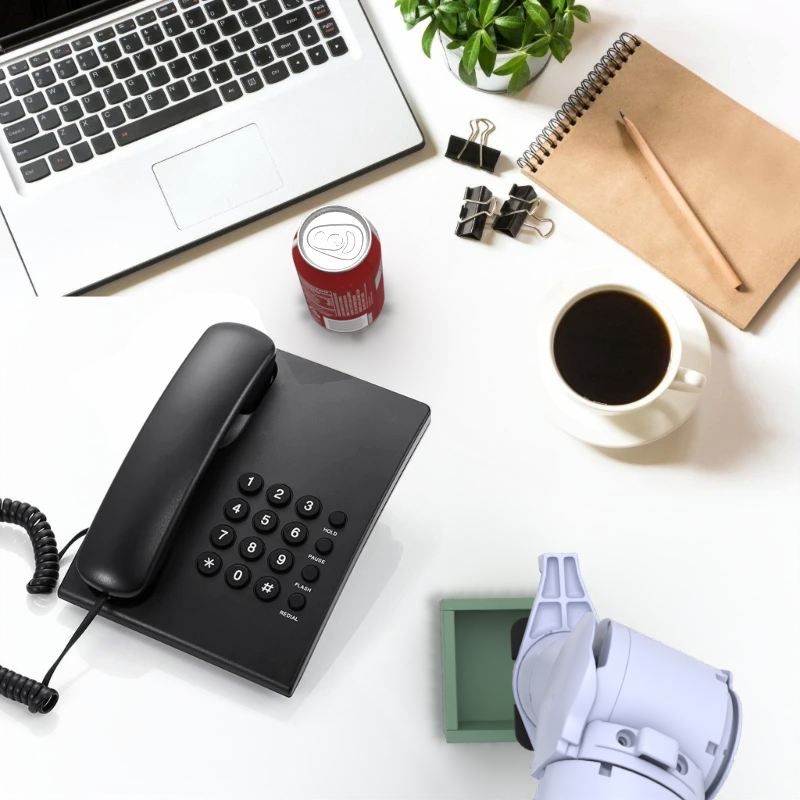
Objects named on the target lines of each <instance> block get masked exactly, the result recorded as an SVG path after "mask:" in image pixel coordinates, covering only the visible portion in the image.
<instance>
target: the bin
mask: <svg viewBox="0 0 800 800" xmlns="http://www.w3.org/2000/svg"><path fill="white" fill-rule="evenodd" d="M534 600H535V597H484V598H483V597H482V598H481V597H480V598H479V597H477V598H475V597H474V598H442V599H441V600H439V628H440V629H439V633H440V637H439V638H440V668H441V669H440V671H441V673H440V675H441V702H442V703H441V708H442V709H441V711H442V712H441V713H442V732H443V735H444V739H445V741H446V743H447V744H469V743H470V744H473V743H475V744H476V743H477V744H479V743H482V744H483V743H518V741H517V739H516V736H515V726H514V704H516V702H515V699H514V694H513V688H512V678H513V672H512V671H513V669H514V663H516V660H512V658H511V636H510V632H511V627H512V624H513V623H514V622H515V621H516V620H518V619H520V618H523V617H529V616H530V613H531V610H532V606H533V603H534Z"/></svg>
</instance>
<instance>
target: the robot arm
mask: <svg viewBox="0 0 800 800" xmlns="http://www.w3.org/2000/svg"><path fill="white" fill-rule="evenodd" d="M537 559H538V570H539V573H540V579H539V582H538V587H537V590H536V593H535V597H534V598H535V600H534V603H533V606H532V610H531V613H530V616H529V617H523V618H520V619H518V620H516V621H515V622H514V623H513V624H512V627H511V632H510V636H511V658H512V660H516V663H515V666H514V671H513V678H512V688H513V694H514V699H515V702H516V704H514V726H515V736H516V739H517V741H518V742H517V743H518V744H519V745H520V746H521V747H523V748H524V749H525V750H528V751H529V752H530V751H531V752H533V756H532V760H531V764H530V773H529V775H530V777H532V778H533V779H536V780H538V782H537V786H536V790H535V794H534V796H533V797H534V798H533V800H714V799H715V798H716V796H717V795H718V793H720V791H721V789H722V788H723V786H724V785H725V782H726V780H727V779H728V776H730V772H731V770H732V767H733V765H734V762H735V756H736V755H737V753H738V751H739V750H738V749H739V746H740V741H741V737H742V731H743V706H742V700H741V699H740V696H739V695H738V692H736V691H735V690H734V688H733V682H734V681H733V680H734V674H733V671H731V670H728V669H720V668H717V667H715V666H713V665H711V664H709V663H707V662H704V661H703V660H700V659H698V658H696V657H694V656H693V655H690V654H688V653H685V652H683V651H681V650H679V649H677V648H675V647H673V646H671V645H668V644H666V643H664V642H661V641H660V640H657V639H655V638H653V637H651V636H649V635H647V634H645V633H642V632H640V631H638V630H636V629H634V628H632V627H629V626H628V625H625V624H623V623H621V622H619V621H617V620H615V619H613V618H610V617H605V618H603V619H601V620H600V618H599V615H598V613H597V611H596V609H595V606H594V603H593V602H592V599H591V597H590V594H589V592H588V590H587V588H586V585H585V582H584V580H583V577H582V573H581V568H580V562H579V554H578V553H577V552H544V553H542V554H540V555H538V557H537Z"/></svg>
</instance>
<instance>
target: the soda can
mask: <svg viewBox="0 0 800 800" xmlns="http://www.w3.org/2000/svg"><path fill="white" fill-rule="evenodd" d="M291 257H292V261H293V264H294V267H295V271H296V274H297V278H298V280H299V283H300V286H301V289H302V293H303V296H304V300H305V302H306V304H307V309H308V311H309V313H310V315H311V317H312V318H313V320H314V321H315V322H316V323H317V324H318V325H319V326H320V327H321V328H323V329H325V330H327V331H329V332H332V333H335V334H340V335H341V334H342V335H347V334H348V335H349V334H355V333H359V332H361V331H363V330H365V329H367V328H368V327H370V326H371V325H372V324H374V323H375V321H376V320H377V319H378V318H379V317H380V315H381V313H382V311H383V308H384V304H385V298H386V297H385V296H386V295H385V283H384V281H385V280H384V269H383V267H384V266H383V254H382V243H381V238H380V235H379V233H378V230H377V229H376V227H375V226H374V225H373V223H372V222H371V221H370V220H369V219H368V218H367V217H366V216H364V215H363V214H362V213H361V212H360V211H358V210H356V208H353V207H352V206H348V205H345V204H340V203H330V204H325V205H322V206H319V207H317V208H315V209H313V210H312V211H310V212H309V213H308V214H307V215H306V216H305V217H304V218H303V220H302V221H301V223H300V225H299V227H298V229H297V230H296V232H295V234H294V236H293V240H292V244H291Z"/></svg>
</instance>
